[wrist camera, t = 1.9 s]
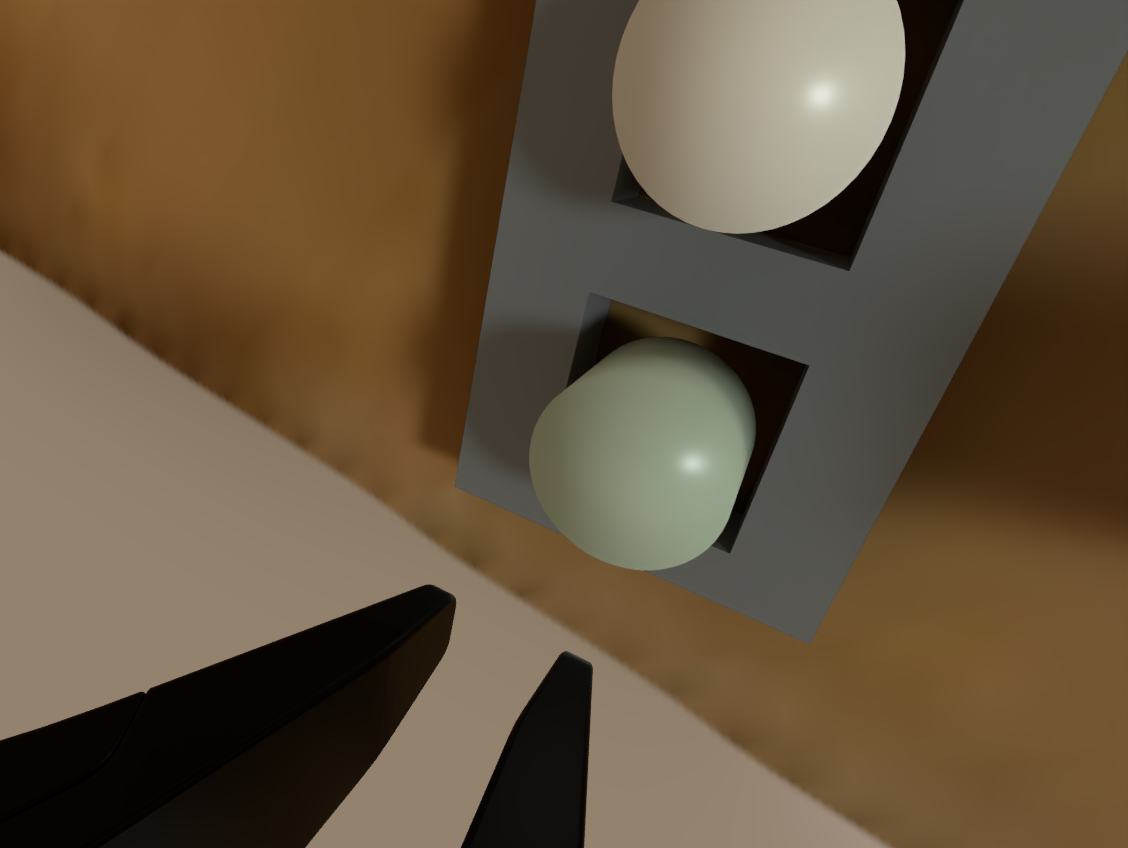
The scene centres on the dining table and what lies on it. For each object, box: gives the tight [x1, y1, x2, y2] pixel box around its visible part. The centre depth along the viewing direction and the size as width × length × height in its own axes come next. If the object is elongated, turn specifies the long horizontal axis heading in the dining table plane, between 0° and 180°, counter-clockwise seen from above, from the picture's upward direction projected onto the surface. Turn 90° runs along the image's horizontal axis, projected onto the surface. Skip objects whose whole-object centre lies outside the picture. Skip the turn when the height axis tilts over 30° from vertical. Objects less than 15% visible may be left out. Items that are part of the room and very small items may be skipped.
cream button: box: [612, 0, 905, 234], centre depth 11 cm, size 4×4×3 cm
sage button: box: [529, 337, 756, 570], centre depth 14 cm, size 4×4×3 cm
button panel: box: [455, 0, 1128, 644], centre depth 13 cm, size 10×22×2 cm, turn 166°
